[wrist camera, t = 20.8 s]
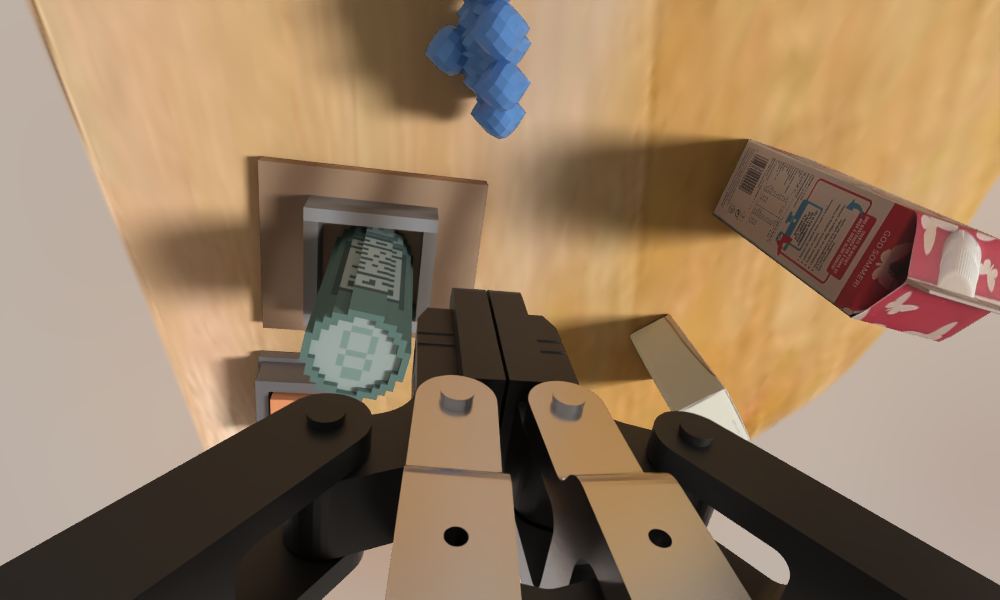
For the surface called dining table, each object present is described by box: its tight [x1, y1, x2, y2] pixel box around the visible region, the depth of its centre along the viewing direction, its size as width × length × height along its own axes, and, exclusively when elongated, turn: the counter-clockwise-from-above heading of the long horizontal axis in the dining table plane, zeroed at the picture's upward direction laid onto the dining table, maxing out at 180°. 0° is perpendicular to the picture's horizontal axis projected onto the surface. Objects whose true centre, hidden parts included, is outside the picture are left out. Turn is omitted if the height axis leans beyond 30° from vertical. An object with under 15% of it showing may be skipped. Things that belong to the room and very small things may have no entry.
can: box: [299, 226, 413, 402], centre depth 42 cm, size 6×6×15 cm
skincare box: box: [630, 315, 750, 441], centre depth 52 cm, size 6×4×12 cm
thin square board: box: [258, 156, 488, 338], centre depth 47 cm, size 17×14×4 cm
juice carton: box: [713, 139, 1000, 342], centre depth 41 cm, size 7×7×22 cm
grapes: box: [424, 0, 531, 139], centre depth 38 cm, size 12×7×12 cm, turn 4°
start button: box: [270, 392, 314, 414], centre depth 52 cm, size 5×5×3 cm
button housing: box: [255, 351, 329, 422], centre depth 53 cm, size 8×8×4 cm
